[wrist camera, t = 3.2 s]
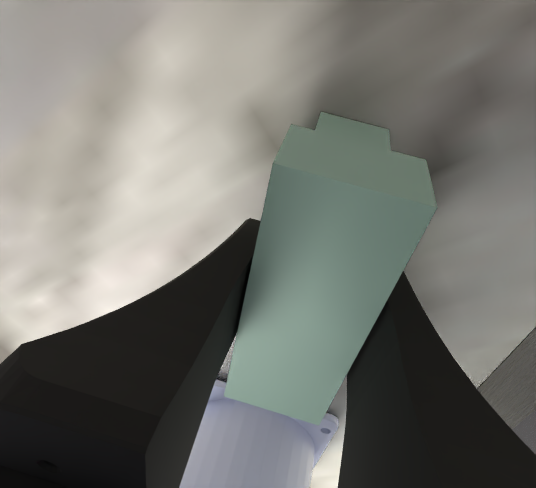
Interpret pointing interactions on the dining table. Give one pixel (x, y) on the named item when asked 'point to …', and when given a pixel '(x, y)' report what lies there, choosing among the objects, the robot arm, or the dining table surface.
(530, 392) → the rail
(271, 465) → the robot arm
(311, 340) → the pale green rectangular post
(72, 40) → the dining table surface
